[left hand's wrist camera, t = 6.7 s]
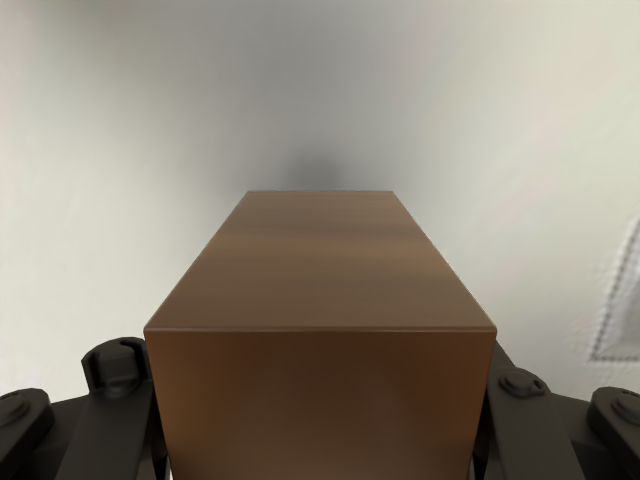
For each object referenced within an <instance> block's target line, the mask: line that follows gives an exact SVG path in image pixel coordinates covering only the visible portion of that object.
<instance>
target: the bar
mask: <svg viewBox="0 0 640 480" xmlns="http://www.w3.org/2000/svg"><path fill="white" fill-rule="evenodd" d="M143 332H144V337H145V342H146V347H147V352H148V357H149V362H150V367H151V372H152V377H153V382H154V387H155V392H156V397H157V402H158V407H159V412H160V417H161V422H162V427H163V432H164V437H165V442H166V447H167V452H168V457H169V462H170V467H171V472H172V477H173V480H467V479H468V474H469V469H470V464H471V459H472V454H473V449H474V444H475V439H476V434H477V429H478V424H479V419H480V414H481V409H482V404H483V400H484V395H485V390H486V385H487V380H488V375H489V370H490V365H491V360H492V355H493V350H494V345H495V340H496V335H497V328H496V326H495V325H494V323H493V322H492V321H491V319H490V318H489V317H488V316H487V314H486V313H485V312H484V310H483V309H482V308H481V306H480V305H479V304H478V302H477V301H476V300H475V299H474V297H473V296H472V295H471V293H470V292H469V291H468V289H467V288H466V287H465V285H464V284H463V283H462V282H461V280H460V279H459V278H458V276H457V275H456V274H455V272H454V271H453V270H452V269H451V267H450V266H449V265H448V263H447V262H446V261H445V259H444V258H443V257H442V255H441V254H440V253H439V252H438V250H437V249H436V248H435V246H434V245H433V244H432V242H431V241H430V240H429V238H428V237H427V236H426V235H425V233H424V232H423V231H422V229H421V228H420V227H419V225H418V224H417V223H416V221H415V220H414V219H413V218H412V216H411V215H410V214H409V212H408V211H407V210H406V208H405V207H404V206H403V205H402V203H401V202H400V201H399V199H398V198H397V197H396V195H395V194H394V193H393V191H248V192H247V193H246V194H245V196H244V197H243V198H242V200H241V201H240V202H239V204H238V205H237V206H236V207H235V209H234V210H233V211H232V213H231V214H230V215H229V217H228V218H227V219H226V221H225V222H224V223H223V224H222V226H221V227H220V228H219V230H218V231H217V232H216V234H215V235H214V236H213V238H212V239H211V240H210V241H209V243H208V244H207V245H206V247H205V248H204V249H203V251H202V252H201V253H200V255H199V256H198V257H197V259H196V260H195V261H194V262H193V264H192V265H191V266H190V268H189V269H188V270H187V272H186V273H185V274H184V276H183V277H182V278H181V279H180V281H179V282H178V283H177V285H176V286H175V287H174V289H173V290H172V291H171V293H170V294H169V295H168V296H167V298H166V299H165V300H164V302H163V303H162V304H161V306H160V307H159V308H158V310H157V311H156V312H155V314H154V315H153V316H152V317H151V319H150V320H149V321H148V323H147V324H146V325H145V327H144V330H143Z"/></svg>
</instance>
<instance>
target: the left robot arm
mask: <svg viewBox="0 0 640 480" xmlns="http://www.w3.org/2000/svg"><path fill="white" fill-rule="evenodd" d="M81 363H82V366H83V370H84V373H85V377H86V381H87V384H88V388H89V391H90V392H89V394H88V395H85V396H81V397H77V398H73V399H69V400H64V401H60V402H55V403H50V400H49V397H48V394H47V393H46V392H45V391H43V390H42V389H35V388H28V389H22V390H17V391H14V392H11V393H8V394H5V395H3V396H1V397H0V480H170V470H171V467H170V462H169V457H168V452H167V447H166V442H165V437H164V432H163V427H162V422H161V417H160V412H159V407H158V402H157V397H156V392H155V387H154V382H153V377H152V372H151V367H150V362H149V357H148V352H147V347H146V342H145V341H144V340H143V339H141V338H136V337H121V338H117V339H113V340H109V341H107V342H104V343H102V344H100V345H98V346H96V347H95V348H93V349H92V350H90V351H89V352H88V353H87V354H86V355H85V356H84V357H83V359H82V360H81ZM467 480H640V395H639V394H637V393H635V392H632V391H629V390H626V389H623V388H616V387H602V388H598V389H597V390H596V391H594V392H593V395H592V398H591V401H590V402H588V401H583V400H579V399H574V398H570V397H565V396H561V395H557V394H554V393H551V391H550V390H549V388H548V387H547V385H546V384H545V382H543V381H542V380H541V379H540V378H538V377H537V376H536V375H534V374H532V373H530V372H528V371H526V370H524V369H521V368H517V367H515V365H514V364H513V363H512V361H511V360H510V359H509V357H508V356H507V354H506V353H505V352H504V350H503V349H502V347H501V346H500V345H499V343H498V342H497V341H496V340H495V345H494V350H493V355H492V360H491V365H490V370H489V375H488V380H487V385H486V390H485V395H484V400H483V404H482V409H481V414H480V419H479V424H478V429H477V434H476V439H475V444H474V449H473V454H472V459H471V464H470V469H469V474H468V479H467Z"/></svg>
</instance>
